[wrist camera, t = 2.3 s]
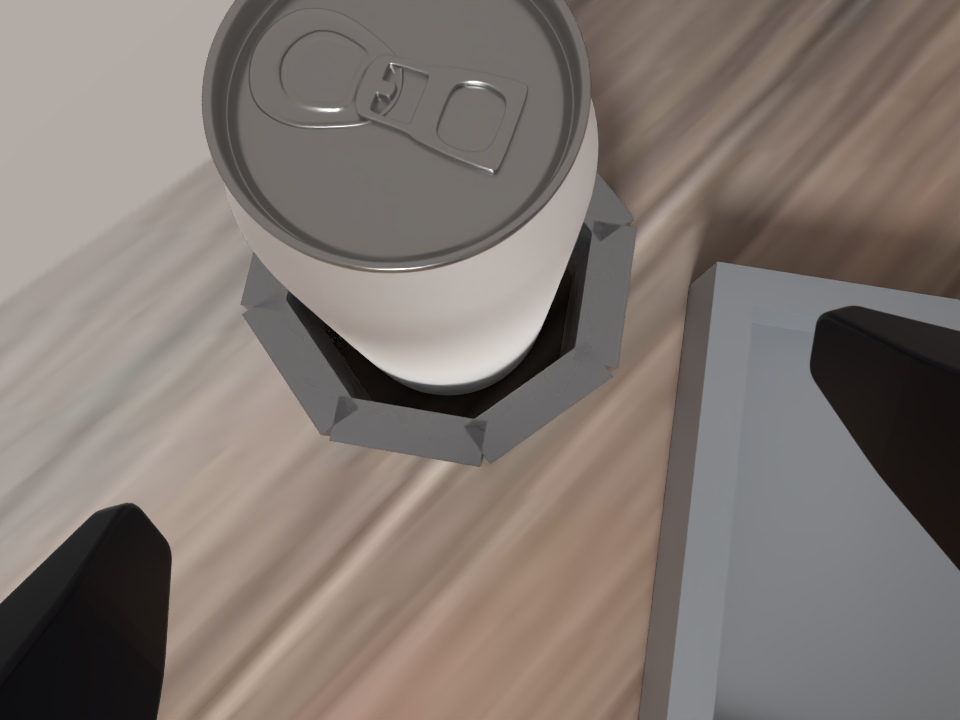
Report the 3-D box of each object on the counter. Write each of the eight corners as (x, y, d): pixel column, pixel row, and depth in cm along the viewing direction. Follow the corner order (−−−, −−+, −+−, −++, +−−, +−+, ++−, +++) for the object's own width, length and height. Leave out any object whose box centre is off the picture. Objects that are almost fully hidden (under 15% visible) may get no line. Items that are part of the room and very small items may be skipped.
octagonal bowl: (578, 482, 19) (601, 488, 15) (267, 428, 20) (211, 419, 16) (620, 186, 21) (651, 123, 17) (333, 143, 21) (298, 70, 17)
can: (395, 191, 21) (275, -158, 9) (568, 248, 21) (677, -40, 9) (327, 360, 20) (93, 214, 8) (507, 424, 20) (537, 368, 8)
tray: (1185, 906, 17) (1304, 982, 14) (629, 796, 18) (652, 850, 15) (1172, 363, 20) (1270, 348, 17) (689, 285, 20) (717, 261, 18)
